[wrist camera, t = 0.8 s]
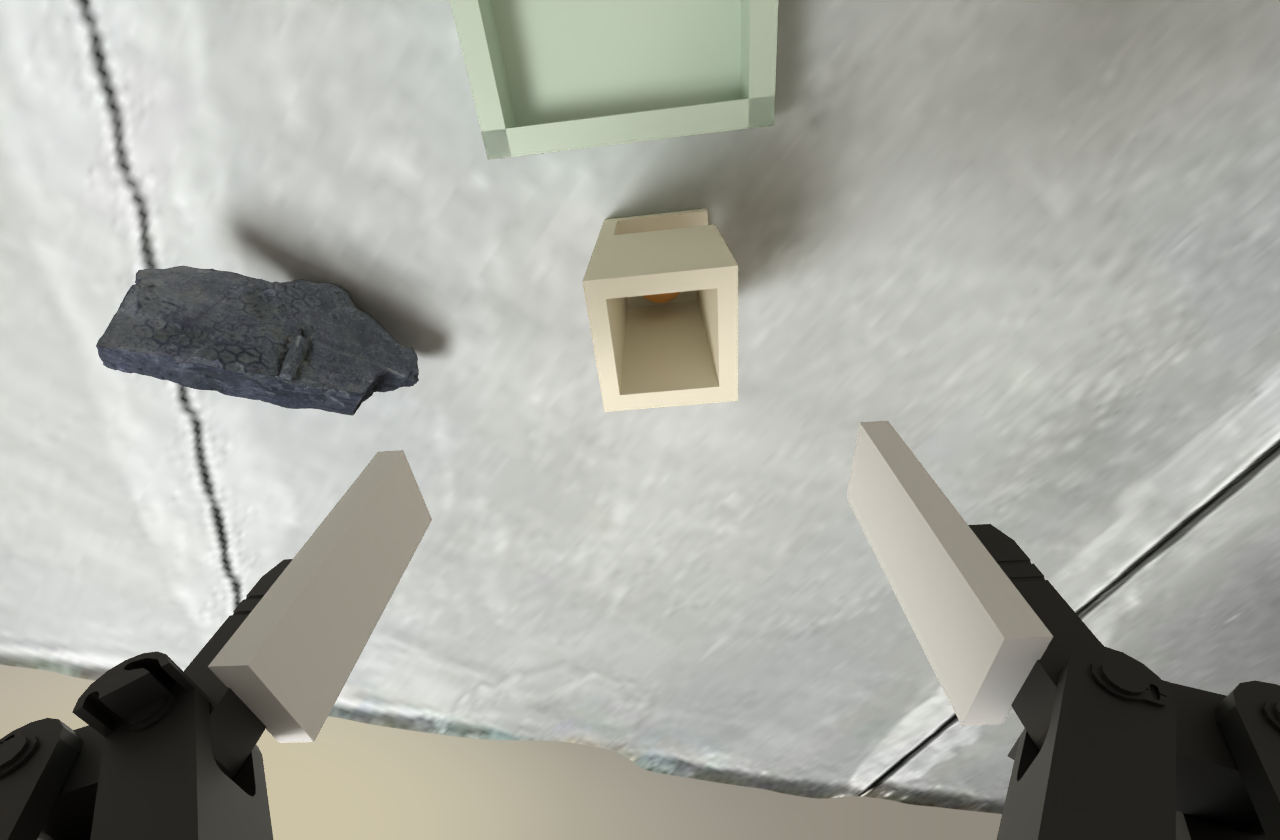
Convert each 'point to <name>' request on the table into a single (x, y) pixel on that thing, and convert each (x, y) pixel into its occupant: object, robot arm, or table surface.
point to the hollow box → (663, 312)
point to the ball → (661, 297)
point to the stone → (255, 339)
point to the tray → (615, 70)
